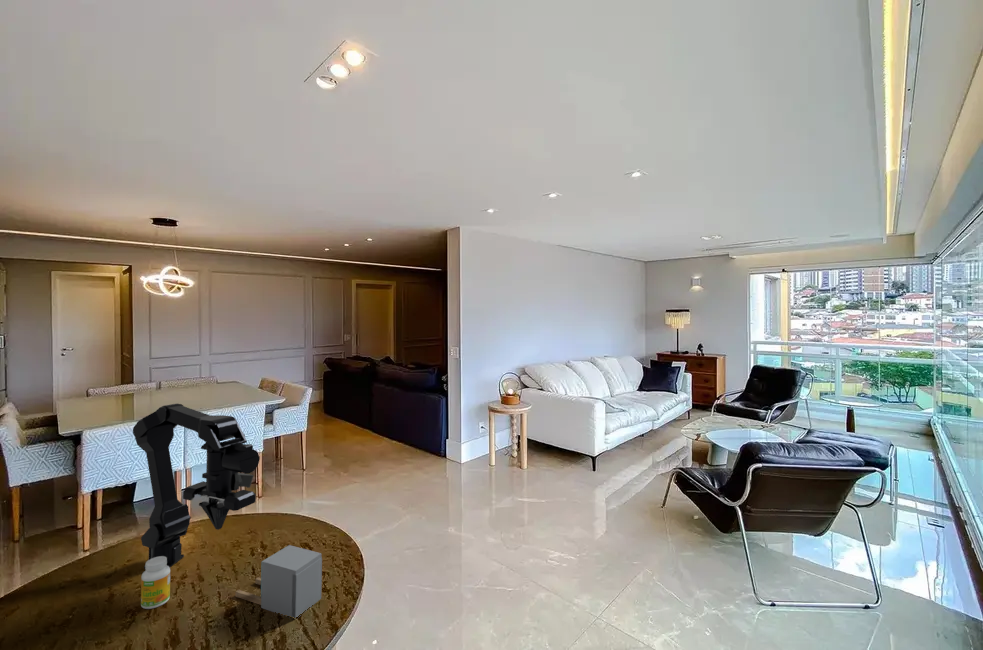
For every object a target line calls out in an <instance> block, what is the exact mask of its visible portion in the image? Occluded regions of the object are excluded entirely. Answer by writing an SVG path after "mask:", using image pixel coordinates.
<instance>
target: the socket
mask: <svg viewBox="0 0 983 650" xmlns="http://www.w3.org/2000/svg"><path fill="white" fill-rule="evenodd" d="M261 562H262V586H261V585H260V597H261V605H260V608H261V609H264V610H267V611H269V612H272V613H275V612H276V613H275V614H278V613H280V614H279V615H281V614H283V615H282V616H284V615H287V616H291V617H294V618H296V617H298V616H299V615H300V614H302V613H303V612H304V611H305V610H306V611H308V610H309V609H310V608H311V607H313V606H314V605H315V604H317V602H319V601H320V600H321V599H322V584H323V583H322V582H323V579H322V578H323V557H322V553H321V552H317V551H313V550H310V549H306V548H304V547H303V548H302V547H298V546H295V545H290V544H288V545H287V546H285V547H284V548H282V549H280V550H278V551H277V552H275V553H274V554H271V555H270V556H269V557H267V558H265V559H264V560H262V561H261ZM312 605H313V606H312ZM309 607H310V608H309ZM308 608H309V609H308ZM307 609H308V610H307ZM306 611H305V612H306ZM305 612H304V613H305ZM304 613H303V614H304ZM303 614H302V615H303ZM287 616H286V617H287ZM300 616H301V615H300ZM300 616H299V617H300ZM299 617H298V618H299Z"/></svg>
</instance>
